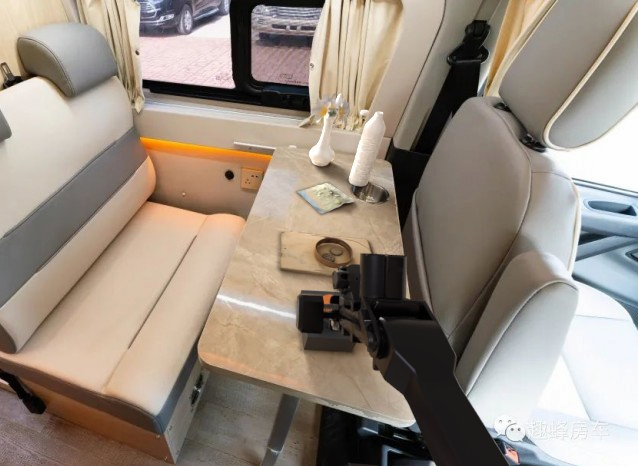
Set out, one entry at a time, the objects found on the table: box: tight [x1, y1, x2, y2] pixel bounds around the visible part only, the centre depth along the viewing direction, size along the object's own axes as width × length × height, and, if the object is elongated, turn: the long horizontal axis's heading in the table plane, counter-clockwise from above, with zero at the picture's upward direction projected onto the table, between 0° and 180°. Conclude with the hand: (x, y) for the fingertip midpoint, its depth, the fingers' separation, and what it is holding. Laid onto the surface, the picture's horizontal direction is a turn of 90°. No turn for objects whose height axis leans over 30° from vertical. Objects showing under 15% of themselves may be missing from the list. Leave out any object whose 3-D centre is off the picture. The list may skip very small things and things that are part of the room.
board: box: [279, 230, 373, 277], centre depth 89 cm, size 25×15×3 cm, turn 82°
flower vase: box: [309, 93, 351, 167], centre depth 119 cm, size 13×18×25 cm
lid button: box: [323, 295, 333, 311], centre depth 68 cm, size 4×4×2 cm
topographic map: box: [297, 182, 355, 215], centre depth 109 cm, size 14×14×2 cm
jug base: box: [300, 289, 357, 353], centre depth 71 cm, size 12×10×7 cm
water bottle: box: [348, 109, 387, 187], centre depth 108 cm, size 9×6×25 cm
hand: (339, 307), depth 62 cm, fingers closed
